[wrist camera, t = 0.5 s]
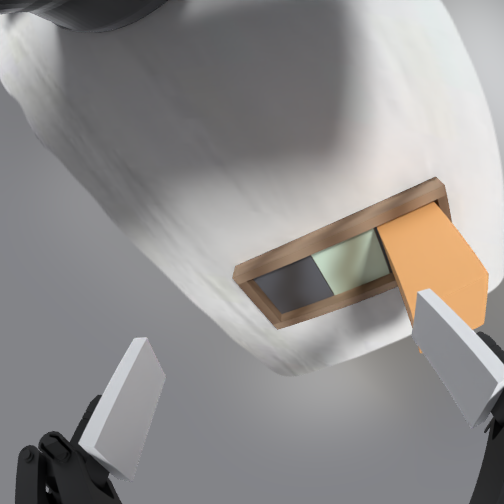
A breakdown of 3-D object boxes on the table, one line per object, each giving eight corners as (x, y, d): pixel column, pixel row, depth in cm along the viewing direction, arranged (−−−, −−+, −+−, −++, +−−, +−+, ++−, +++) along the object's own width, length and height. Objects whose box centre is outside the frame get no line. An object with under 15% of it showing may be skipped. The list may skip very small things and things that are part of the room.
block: (432, 199, 21) (488, 273, 13) (442, 248, 23) (483, 323, 15) (375, 225, 23) (411, 310, 15) (392, 270, 26) (419, 353, 18)
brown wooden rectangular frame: (435, 176, 20) (444, 185, 19) (449, 249, 24) (456, 259, 23) (235, 266, 29) (232, 278, 27) (278, 317, 33) (277, 329, 31)
